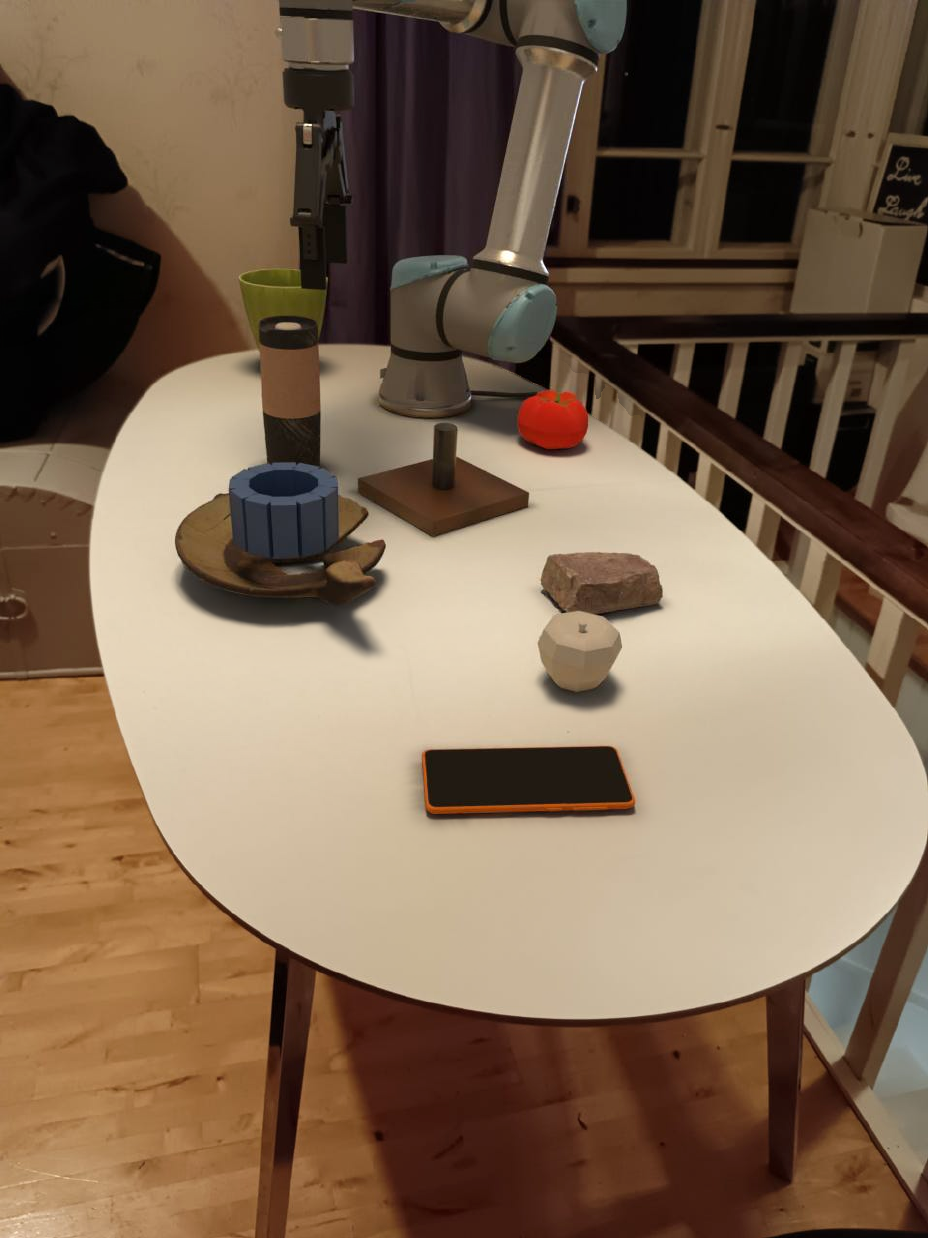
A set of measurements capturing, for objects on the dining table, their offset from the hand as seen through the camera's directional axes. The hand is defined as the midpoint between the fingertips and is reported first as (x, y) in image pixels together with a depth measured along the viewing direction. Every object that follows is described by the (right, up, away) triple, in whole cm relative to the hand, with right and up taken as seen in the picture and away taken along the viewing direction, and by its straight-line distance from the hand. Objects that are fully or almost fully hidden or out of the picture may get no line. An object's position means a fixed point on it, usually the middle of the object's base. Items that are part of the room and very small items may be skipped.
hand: (325, 275), depth 112 cm
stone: (+31, -38, -7) cm, 50 cm away
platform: (+13, -25, +14) cm, 31 cm away
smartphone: (+21, -54, -34) cm, 67 cm away
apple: (+27, -47, -21) cm, 58 cm away
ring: (-3, -32, -11) cm, 33 cm away
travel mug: (-7, -20, +19) cm, 29 cm away
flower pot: (-15, +4, +58) cm, 60 cm away
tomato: (+30, -14, +34) cm, 47 cm away
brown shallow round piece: (-3, -37, -8) cm, 37 cm away
